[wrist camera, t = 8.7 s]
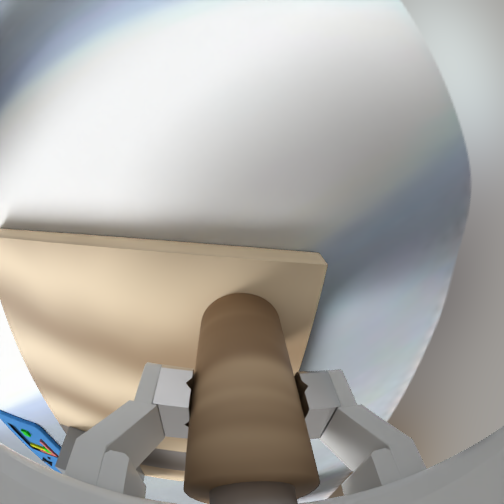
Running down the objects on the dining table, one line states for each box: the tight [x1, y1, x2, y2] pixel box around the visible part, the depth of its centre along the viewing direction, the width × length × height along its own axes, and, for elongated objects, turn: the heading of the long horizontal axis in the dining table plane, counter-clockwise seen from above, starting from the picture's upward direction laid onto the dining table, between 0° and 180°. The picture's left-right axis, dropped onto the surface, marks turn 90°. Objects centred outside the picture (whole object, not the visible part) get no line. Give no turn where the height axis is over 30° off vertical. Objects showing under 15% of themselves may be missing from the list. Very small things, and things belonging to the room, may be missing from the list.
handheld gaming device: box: [0, 410, 62, 474], centre depth 19 cm, size 8×1×15 cm
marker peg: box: [184, 293, 320, 504], centre depth 7 cm, size 3×3×8 cm
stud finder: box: [55, 427, 144, 481], centre depth 14 cm, size 7×5×4 cm
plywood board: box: [0, 229, 328, 481], centre depth 14 cm, size 22×16×1 cm
